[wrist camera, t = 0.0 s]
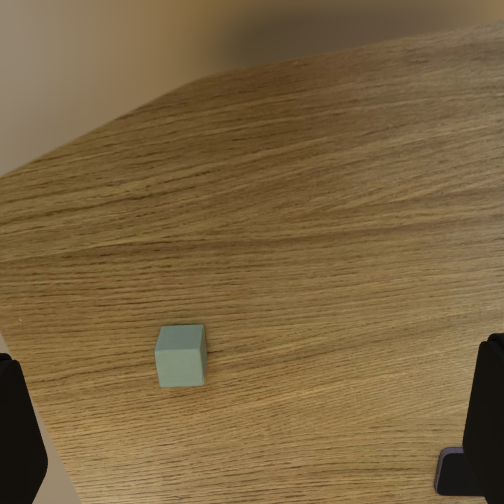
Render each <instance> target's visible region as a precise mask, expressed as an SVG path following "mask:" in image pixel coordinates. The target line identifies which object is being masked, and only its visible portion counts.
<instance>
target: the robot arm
mask: <svg viewBox="0 0 504 504" xmlns="http://www.w3.org/2000/svg"><path fill="white" fill-rule="evenodd" d="M462 445H463V453H464V457H465V459H466V462H467V464H468V466H469V468H470V470H471V472H472V474H473V476H474V477H475V479H476V481H477V483H478V485H479V487H480V489H481V491H482V493H483V495H484V497H485V499H486V501H487V503H488V504H504V333H494V334H491V335H490V336H489V337H488V340H487V341H483V342H481V344H480V346H479V350H478V356H477V361H476V367H475V373H474V379H473V384H472V390H471V396H470V401H469V407H468V413H467V418H466V424H465V430H464V436H463V443H462ZM47 467H48V458H47V453H46V450H45V446H44V443H43V440H42V436H41V433H40V430H39V426H38V423H37V420H36V416H35V413H34V410H33V406H32V403H31V399H30V396H29V393H28V389H27V386H26V383H25V379H24V376H23V373H22V369H21V366H20V364H19V362H18V361H17V360H12V358H11V356H10V355H9V354H6V353H0V504H32V503H33V501H34V499H35V496H36V494H37V492H38V490H39V488H40V486H41V484H42V482H43V479H44V477H45V475H46V472H47Z"/></svg>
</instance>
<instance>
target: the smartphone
mask: <svg viewBox="0 0 504 504" xmlns="http://www.w3.org/2000/svg"><path fill="white" fill-rule="evenodd" d="M434 487H435V490H436V492H437V494H439V495H441V496H478V497H484V495H483V493H482V491H481V489H480V487H479V485H478V483H477V481H476V479H475V477H474V476H473V474H472V472H471V470H470V468H469V466H468V464H467V462H466V459H465V457H464V453H463V448H446V449H444V450H443V451H442V452H441V454H440V457H439V462H438V468H437V473H436V478H435V483H434Z"/></svg>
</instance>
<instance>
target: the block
mask: <svg viewBox="0 0 504 504" xmlns="http://www.w3.org/2000/svg"><path fill="white" fill-rule="evenodd" d="M154 354H155V361H156V367H157V373H158V380H159V386H160V387H185V386H204V381H205V373H206V366H207V349H206V339H205V330H204V324H196V325H172V326H162V327H161V330H160V333H159V337H158V340H157V343H156V346H155V350H154Z"/></svg>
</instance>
